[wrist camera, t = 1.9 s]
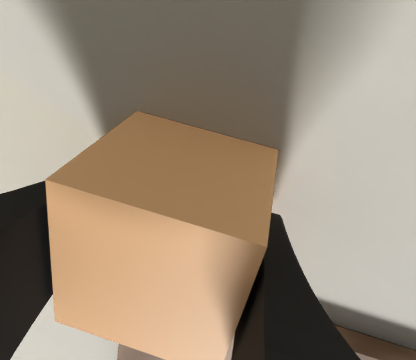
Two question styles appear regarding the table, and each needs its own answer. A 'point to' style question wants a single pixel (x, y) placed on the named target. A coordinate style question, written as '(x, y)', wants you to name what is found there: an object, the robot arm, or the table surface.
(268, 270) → the robot arm
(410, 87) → the table surface
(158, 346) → the orange cube
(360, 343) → the walnut board
